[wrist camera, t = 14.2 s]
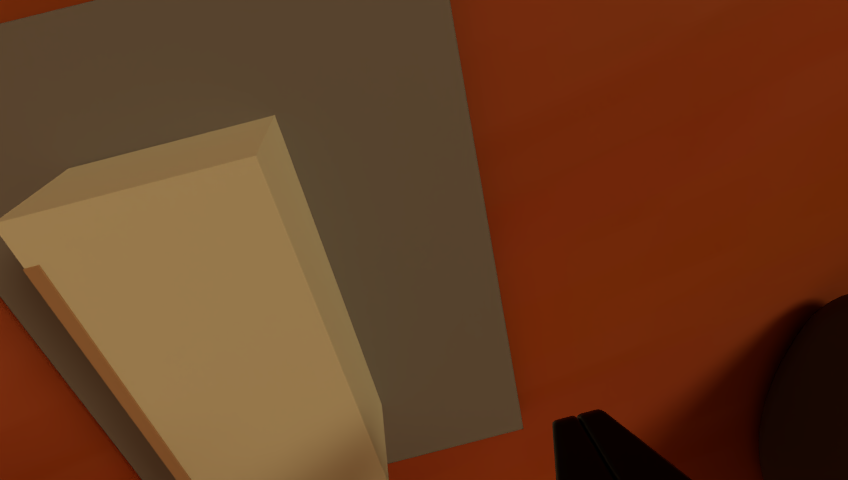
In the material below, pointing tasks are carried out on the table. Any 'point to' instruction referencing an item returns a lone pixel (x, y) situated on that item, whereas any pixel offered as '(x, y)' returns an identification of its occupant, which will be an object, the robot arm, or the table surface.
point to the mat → (316, 170)
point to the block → (208, 307)
